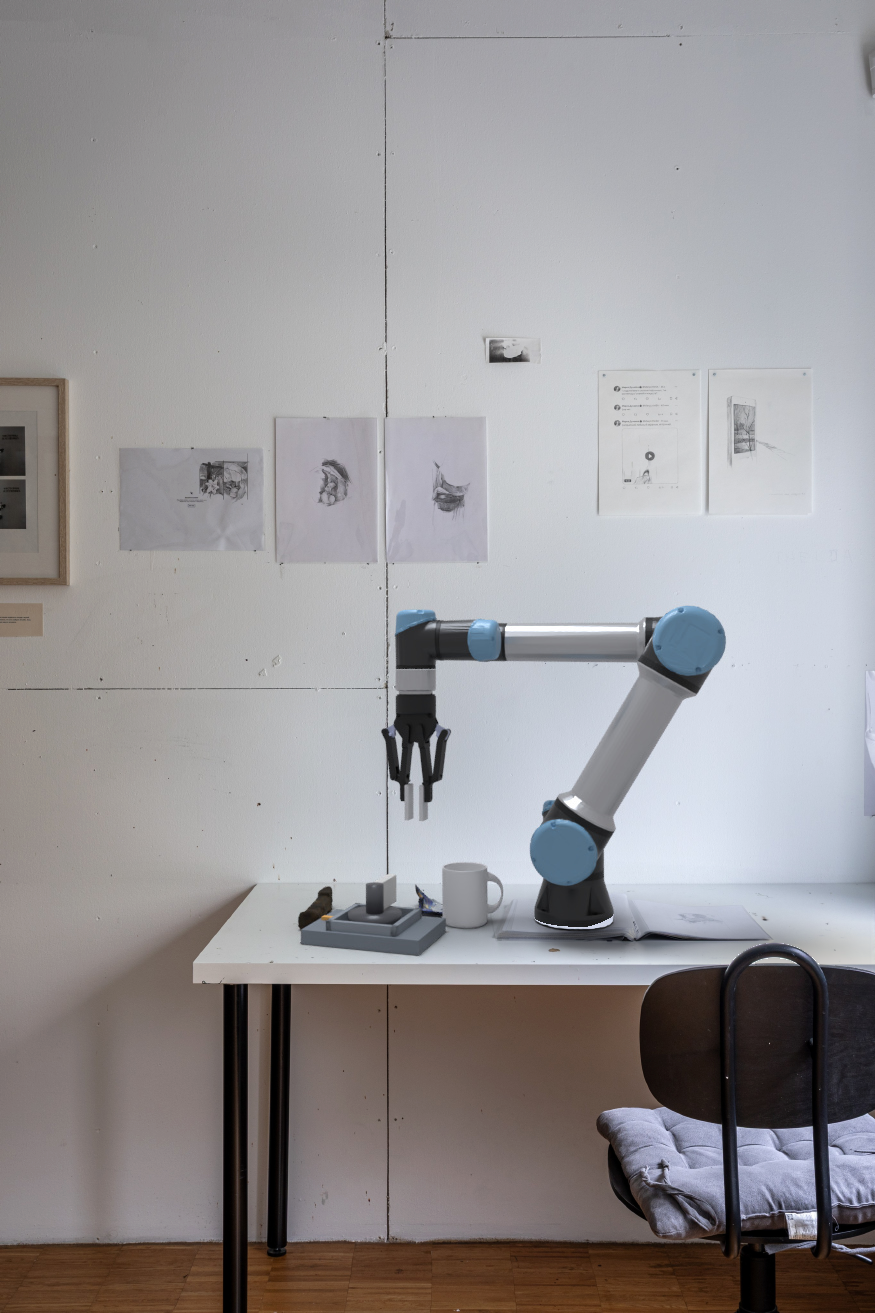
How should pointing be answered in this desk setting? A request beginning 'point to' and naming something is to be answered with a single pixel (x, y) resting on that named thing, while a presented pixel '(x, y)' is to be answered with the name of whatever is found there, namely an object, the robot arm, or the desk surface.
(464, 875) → the mug
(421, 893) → the snack package
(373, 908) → the dial
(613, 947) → the desk surface
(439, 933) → the panel
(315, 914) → the dark brown lumpy bar
